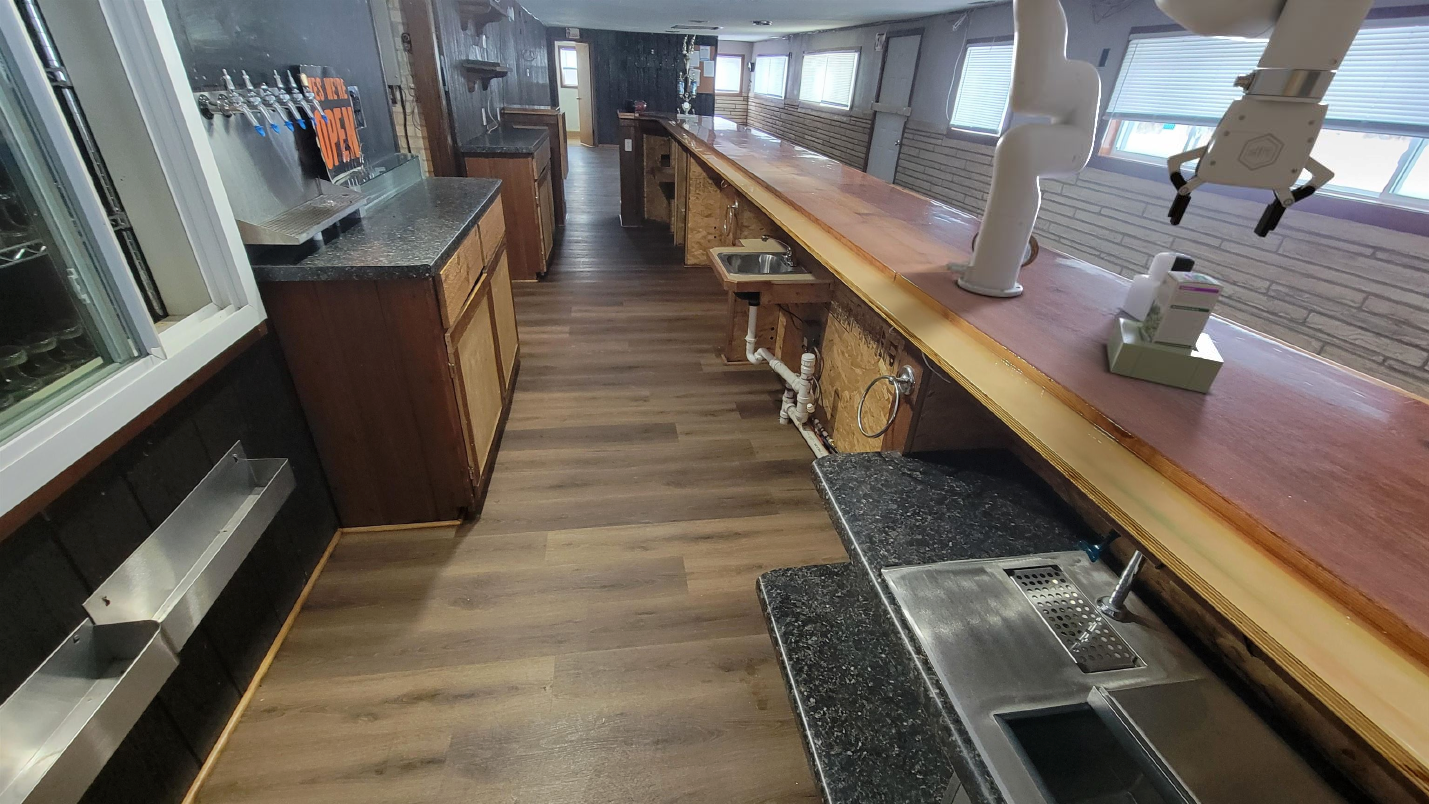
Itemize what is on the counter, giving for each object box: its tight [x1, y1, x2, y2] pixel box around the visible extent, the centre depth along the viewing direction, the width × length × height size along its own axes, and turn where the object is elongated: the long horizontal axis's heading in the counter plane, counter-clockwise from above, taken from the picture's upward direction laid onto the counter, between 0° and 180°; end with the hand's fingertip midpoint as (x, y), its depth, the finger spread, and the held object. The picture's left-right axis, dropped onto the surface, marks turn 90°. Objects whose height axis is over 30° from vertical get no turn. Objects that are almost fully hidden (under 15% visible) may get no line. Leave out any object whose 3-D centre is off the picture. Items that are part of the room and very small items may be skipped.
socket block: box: [1106, 317, 1225, 394], centre depth 87 cm, size 12×12×5 cm
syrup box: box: [1139, 271, 1225, 351], centre depth 84 cm, size 6×6×14 cm
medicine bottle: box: [1120, 251, 1196, 323], centre depth 106 cm, size 7×7×12 cm
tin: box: [971, 231, 1040, 269], centre depth 135 cm, size 15×3×8 cm, turn 43°
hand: (1215, 229), depth 78 cm, fingers open, 9 cm apart
